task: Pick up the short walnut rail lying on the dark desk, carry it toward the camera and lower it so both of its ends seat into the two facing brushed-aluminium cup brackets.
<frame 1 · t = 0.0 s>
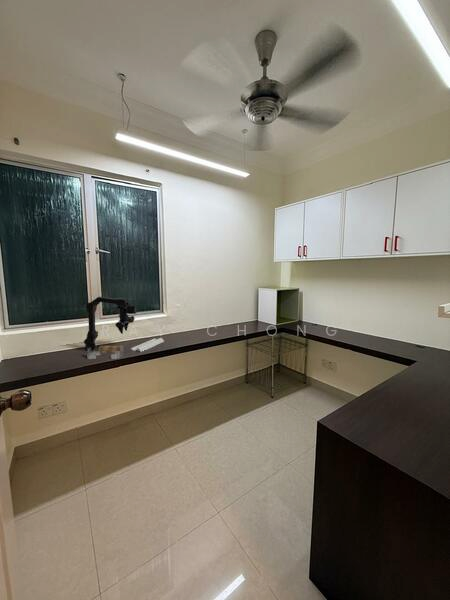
hand: (124, 332, 204), 15 cm above the table, fingers open, 9 cm apart
cup brackets: (105, 356, 189), on the table
crown molding: (148, 346, 217), on the table
rail: (111, 352, 199), on the table
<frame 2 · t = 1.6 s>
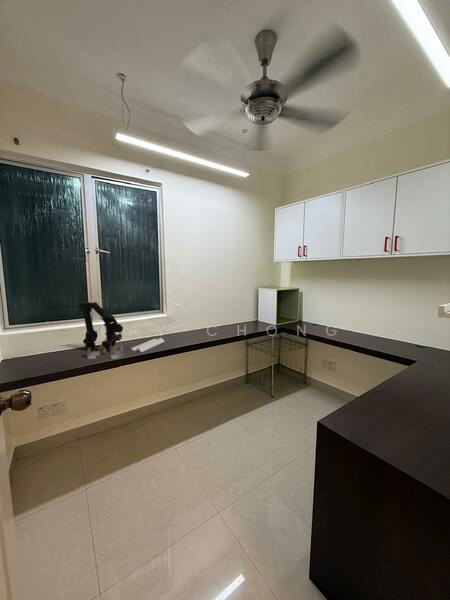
hand: (111, 350, 199), 1 cm above the table, fingers open, 9 cm apart
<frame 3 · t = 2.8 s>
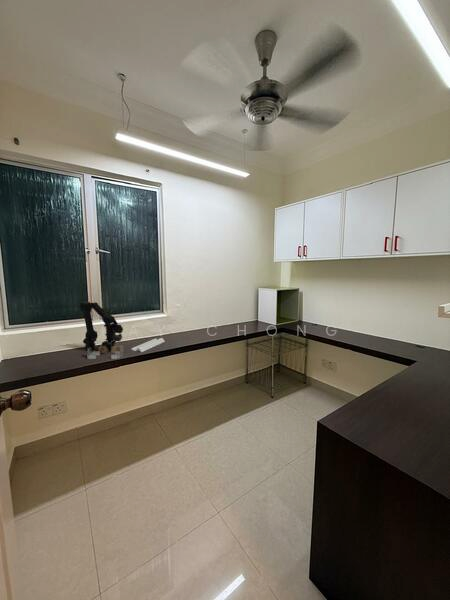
hand: (111, 350, 199), 1 cm above the table, fingers closed on rail, 4 cm apart
rail: (111, 352, 199), on the table, touching gripper
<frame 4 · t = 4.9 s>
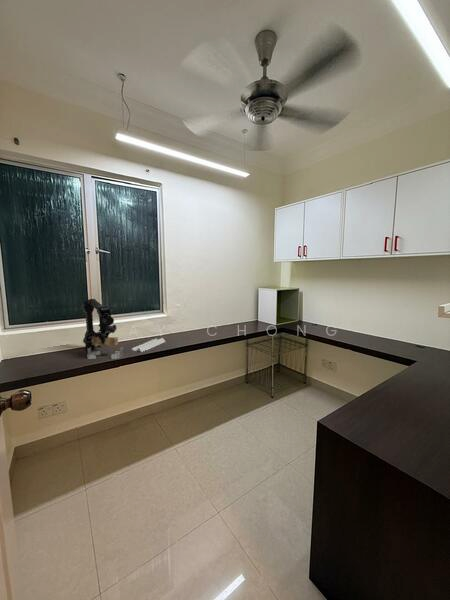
hand: (104, 342, 188), 11 cm above the table, fingers closed on rail, 4 cm apart
rail: (105, 344, 188), point 10 cm above the table, touching gripper
when the fingers open (2 cm above the table, at t = 7.0 s): rail drops 2 cm, on the table.
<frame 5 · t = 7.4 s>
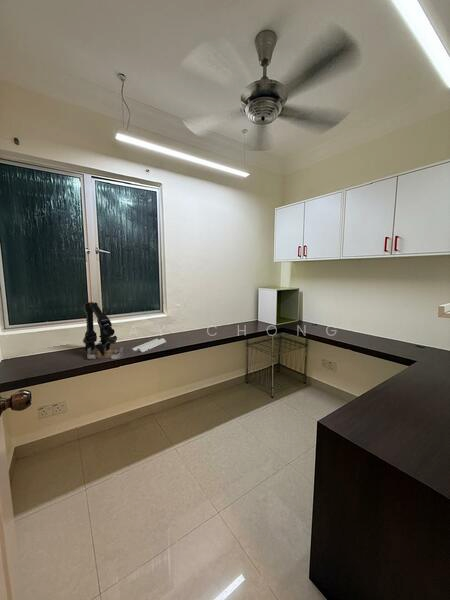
hand: (105, 353, 189), 2 cm above the table, fingers open, 8 cm apart
rail: (105, 357, 189), on the table
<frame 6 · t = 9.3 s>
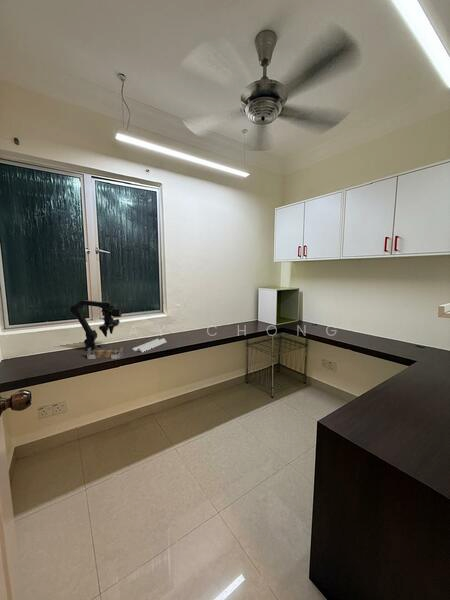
hand: (108, 335, 205), 12 cm above the table, fingers open, 9 cm apart
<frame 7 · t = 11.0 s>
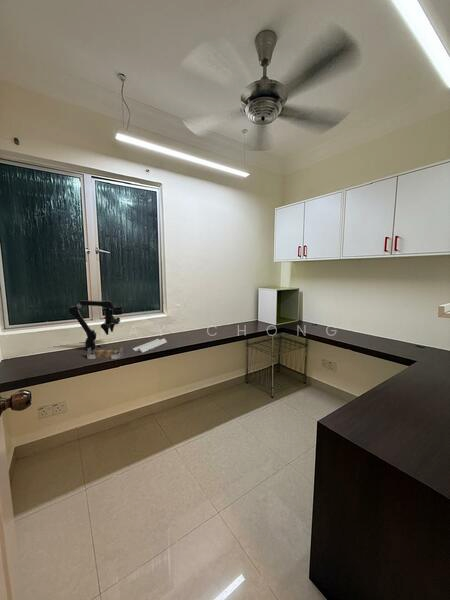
hand: (109, 333, 210), 12 cm above the table, fingers open, 9 cm apart
at the end: rail 0.1 cm off-centre on the cup brackets, point 0.0 cm above the cup brackets's base; rail tilted 0°; the gripper is holding nothing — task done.
